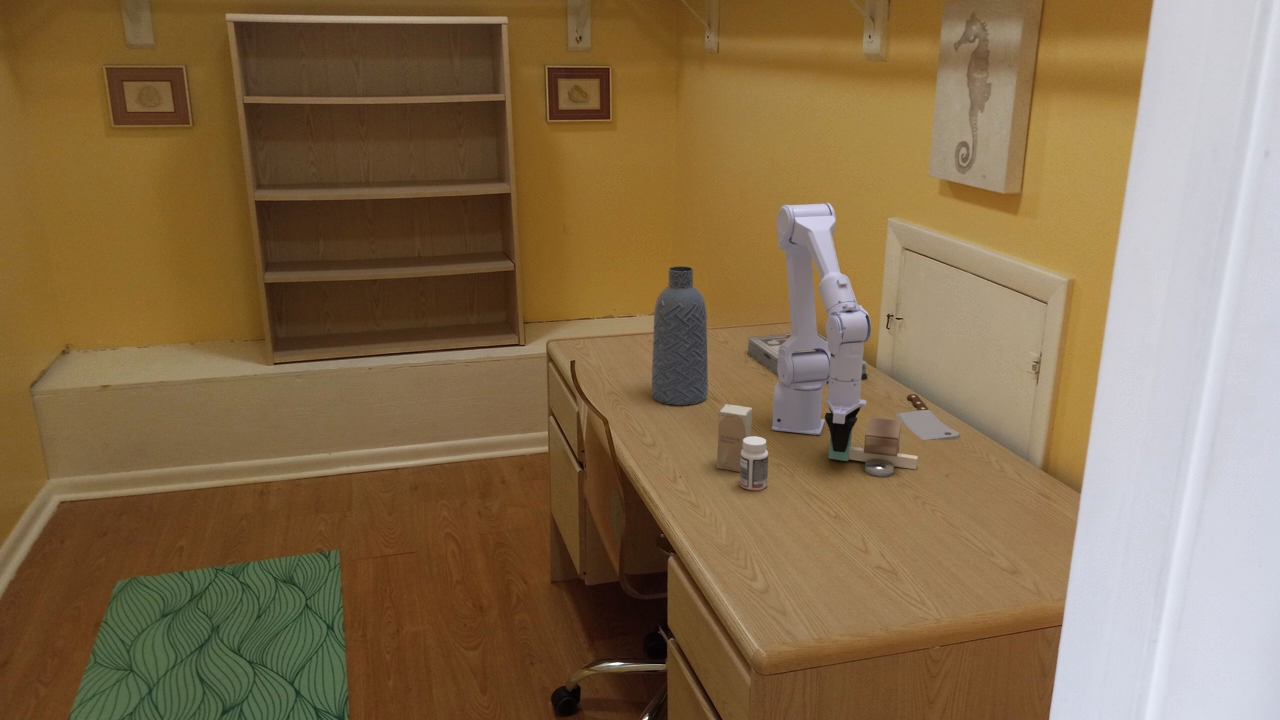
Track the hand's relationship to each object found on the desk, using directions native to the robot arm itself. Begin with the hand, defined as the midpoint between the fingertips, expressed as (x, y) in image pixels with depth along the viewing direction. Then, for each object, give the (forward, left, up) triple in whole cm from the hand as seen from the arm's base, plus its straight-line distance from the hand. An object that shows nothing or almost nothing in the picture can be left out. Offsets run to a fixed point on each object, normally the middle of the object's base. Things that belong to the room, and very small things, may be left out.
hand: (840, 447), depth 183 cm
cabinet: (+7, 0, -2) cm, 8 cm away
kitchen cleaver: (+13, +26, -3) cm, 29 cm away
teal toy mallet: (+6, 0, -2) cm, 6 cm away
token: (+7, -3, -3) cm, 8 cm away
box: (-18, -9, -3) cm, 20 cm away
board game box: (-14, +54, -3) cm, 56 cm away
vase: (-37, +24, -3) cm, 44 cm away
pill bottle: (-13, -16, -3) cm, 21 cm away
